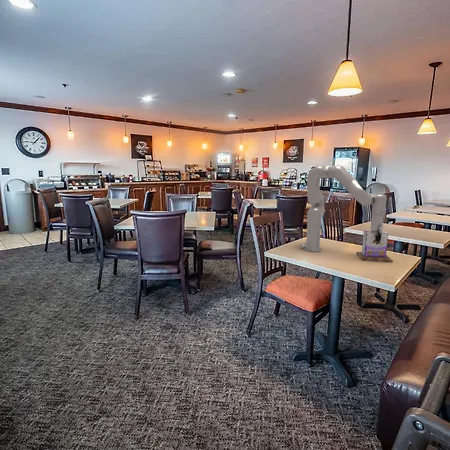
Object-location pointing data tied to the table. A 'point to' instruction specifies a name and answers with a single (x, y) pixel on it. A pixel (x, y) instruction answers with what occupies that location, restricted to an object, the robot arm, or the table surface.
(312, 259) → the table surface
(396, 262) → the table surface
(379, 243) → the candy box
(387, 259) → the serving board
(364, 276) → the table surface
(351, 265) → the table surface
